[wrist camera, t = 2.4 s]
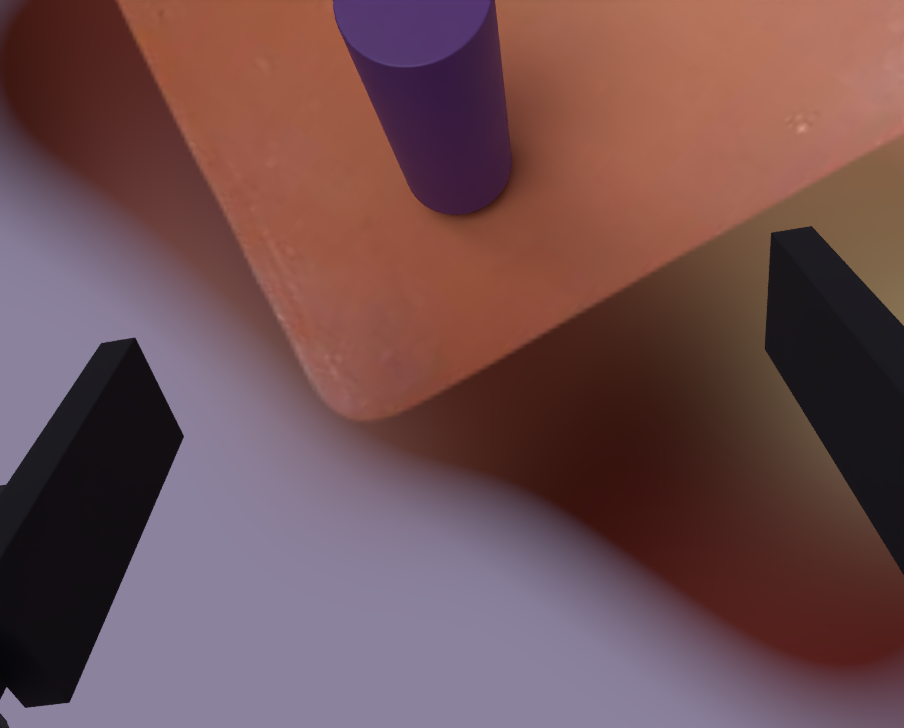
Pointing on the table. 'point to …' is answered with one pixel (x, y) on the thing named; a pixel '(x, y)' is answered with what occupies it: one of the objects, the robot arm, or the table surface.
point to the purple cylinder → (435, 93)
